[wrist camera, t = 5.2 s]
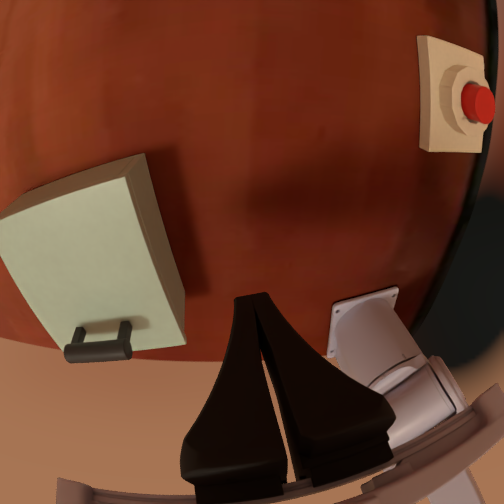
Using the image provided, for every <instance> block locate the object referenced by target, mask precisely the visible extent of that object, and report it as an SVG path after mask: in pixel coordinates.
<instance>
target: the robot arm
mask: <svg viewBox="0 0 504 504" xmlns="http://www.w3.org/2000/svg"><path fill="white" fill-rule="evenodd" d="M398 291H399V289H398V288H397V287H392V288H388V289H385V290H382V291H378V292H374V293H371V294H367V295H364V296H360V297H356V298H352V299H349V300H345V301H341V302H337V303H335V304H334V305H333V307H332V315H331V324H330V332H329V340H328V348H327V358H333V357H336V360H337V362H338V364H339V367H340V369H341V370H339V369H338V368H336V367H335V366H333V365H332V364H331V363H329V362H328V361H327V360H326V359H325V358H323V357H322V356H321V355H320V354H319V353H317V352H316V351H315V350H314V349H313V348H312V347H311V346H310V345H309V344H308V343H307V342H306V341H305V340H304V339H303V338H302V337H301V336H300V335H299V334H298V333H297V332H296V331H295V330H294V329H293V327H292V326H291V325H290V324H289V323H288V322H287V320H286V319H285V318H284V317H283V315H282V314H281V313H280V311H279V310H278V309H277V307H276V306H275V304H274V303H273V301H272V300H271V298H270V296H269V294H268V293H266V292H262V293H257V294H252V295H246V296H241V297H236V298H235V299H234V316H233V324H232V329H231V334H230V339H229V343H228V346H227V350H226V354H225V357H224V360H223V364H222V366H221V369H220V372H219V374H218V377H217V379H216V382H215V384H214V386H213V389H212V391H211V393H210V395H209V398H208V399H207V401H206V403H205V405H204V407H203V409H202V411H201V412H200V414H199V416H198V418H197V419H196V421H195V423H194V424H193V426H192V427H191V429H190V430H189V432H188V433H187V435H186V436H185V438H184V440H183V444H182V449H181V455H180V469H181V477H182V478H183V479H184V480H185V481H188V482H189V483H191V484H193V485H194V486H195V495H150V494H137V493H126V492H117V491H109V490H103V489H96V488H92V487H91V486H89V485H86V484H83V483H80V482H75V481H71V480H66V479H63V478H57V492H56V504H270V503H275V502H281V501H285V500H290V499H295V498H299V497H303V496H307V495H311V494H315V493H319V492H322V491H325V490H329V489H332V488H335V487H338V486H341V485H345V484H347V483H350V482H353V481H356V480H359V479H361V478H364V477H367V476H369V475H372V474H374V473H376V472H379V471H381V470H383V472H384V473H382V474H380V475H378V476H376V477H373V478H372V480H370V481H368V482H367V483H364V484H362V485H361V490H362V492H363V494H361V495H358V496H356V497H353V498H350V499H347V500H344V501H341V502H338V503H334V504H415V503H417V502H419V501H421V500H422V499H424V498H425V497H428V499H429V501H430V503H431V504H485V501H484V499H483V497H482V494H481V492H480V490H479V488H478V486H477V484H476V481H475V479H474V477H473V475H472V473H471V471H470V469H469V467H470V466H471V465H472V464H473V463H475V462H476V461H477V460H478V459H479V458H480V457H482V456H483V455H484V454H485V453H486V452H488V451H489V450H490V449H491V448H492V447H493V446H494V445H495V444H496V443H497V442H499V441H500V440H501V439H502V438H503V437H504V393H503V391H502V390H501V388H500V387H499V385H498V383H496V384H494V385H493V386H492V387H490V388H489V389H488V390H486V391H485V392H484V393H482V394H481V395H480V396H479V397H478V398H477V399H476V400H475V401H474V402H473V403H472V405H470V406H468V404H467V402H466V398H465V397H464V395H463V393H462V391H461V389H460V388H459V386H458V384H457V383H456V381H455V379H454V378H453V376H452V375H451V373H450V371H449V370H448V368H447V367H446V365H445V364H444V362H443V361H442V359H441V358H440V357H437V356H436V357H435V356H433V355H432V356H431V357H430V358H429V359H428V360H429V361H428V360H427V358H426V357H425V356H424V355H423V354H422V352H421V350H420V349H419V347H418V346H417V344H416V343H415V341H414V340H413V338H412V336H411V335H410V333H409V332H408V330H407V329H406V327H405V326H404V324H403V323H402V321H401V320H400V319H399V317H398V316H397V314H396V313H395V311H394V310H393V309H394V305H395V302H396V298H397V295H398ZM260 349H261V351H260ZM261 352H262V355H263V358H264V361H265V364H266V366H267V370H268V372H269V375H270V378H271V381H272V384H273V387H274V390H275V393H276V396H277V400H278V404H279V408H280V413H281V417H282V421H283V425H284V430H285V434H286V438H287V443H288V447H289V451H290V455H291V460H292V464H293V469H294V473H295V478H296V482H291V483H287V468H288V467H287V466H288V459H287V455H286V450H285V447H284V443H283V439H282V436H281V433H280V429H279V425H278V422H277V418H276V415H275V411H274V407H273V404H272V400H271V396H270V392H269V389H268V385H267V381H266V377H265V373H264V369H263V365H262V359H261ZM444 420H445V421H444ZM441 422H442V423H441ZM437 425H438V426H437ZM434 427H435V428H434ZM286 483H287V484H286Z"/></svg>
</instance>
